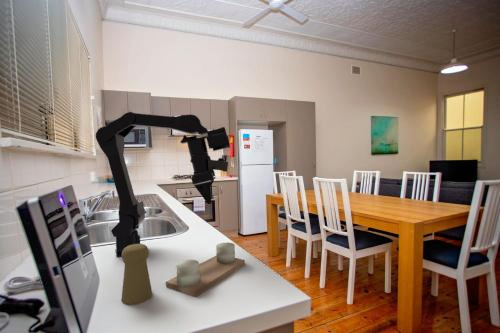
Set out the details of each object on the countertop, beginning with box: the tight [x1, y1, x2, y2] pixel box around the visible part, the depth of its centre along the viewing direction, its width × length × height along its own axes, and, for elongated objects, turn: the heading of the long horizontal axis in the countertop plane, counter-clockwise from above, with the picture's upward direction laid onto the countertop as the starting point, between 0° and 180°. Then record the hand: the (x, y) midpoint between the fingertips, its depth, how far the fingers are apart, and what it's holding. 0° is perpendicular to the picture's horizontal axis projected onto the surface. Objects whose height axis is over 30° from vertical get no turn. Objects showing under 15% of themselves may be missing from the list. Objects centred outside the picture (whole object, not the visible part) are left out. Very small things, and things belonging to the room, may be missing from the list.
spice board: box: [165, 241, 246, 298], centre depth 65 cm, size 9×19×5 cm, turn 148°
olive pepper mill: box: [121, 243, 153, 306], centre depth 55 cm, size 6×6×11 cm
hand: (210, 201), depth 85 cm, fingers open, 9 cm apart
